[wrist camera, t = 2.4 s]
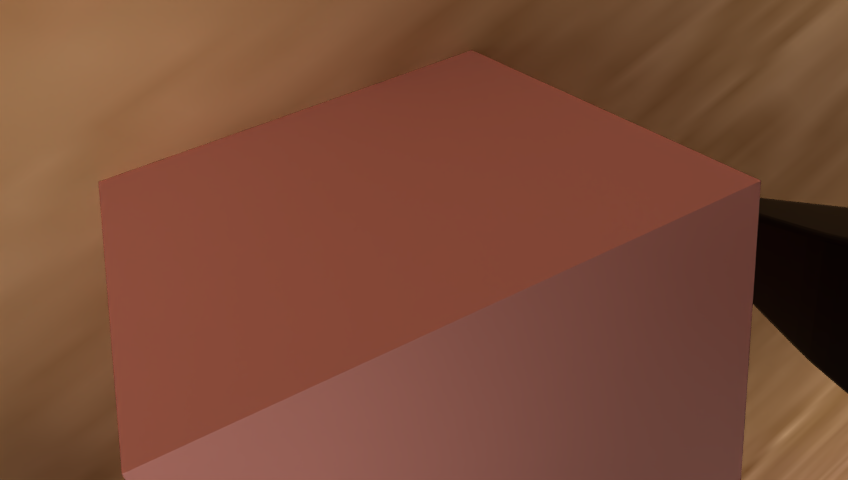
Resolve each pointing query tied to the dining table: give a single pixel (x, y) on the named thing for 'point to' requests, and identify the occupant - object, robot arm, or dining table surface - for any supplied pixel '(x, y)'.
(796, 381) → the dining table surface
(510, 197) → the tomato cube
